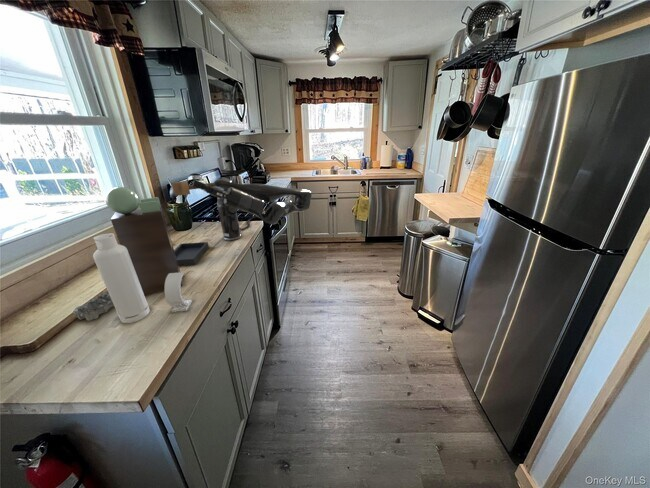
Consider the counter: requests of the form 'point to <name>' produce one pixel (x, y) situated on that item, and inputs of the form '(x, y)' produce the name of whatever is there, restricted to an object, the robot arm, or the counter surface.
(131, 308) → the bottle
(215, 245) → the counter surface
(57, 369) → the counter surface
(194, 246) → the tray
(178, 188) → the wooden mallet
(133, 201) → the flask
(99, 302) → the grey rock
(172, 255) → the stand
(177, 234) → the counter surface
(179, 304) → the headphone stand
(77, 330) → the counter surface
